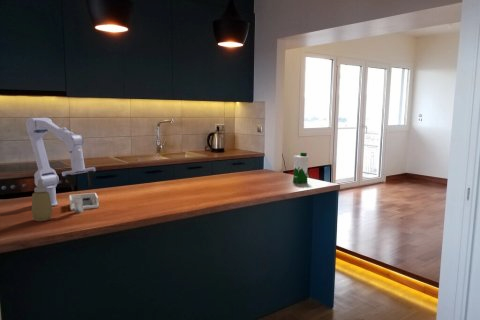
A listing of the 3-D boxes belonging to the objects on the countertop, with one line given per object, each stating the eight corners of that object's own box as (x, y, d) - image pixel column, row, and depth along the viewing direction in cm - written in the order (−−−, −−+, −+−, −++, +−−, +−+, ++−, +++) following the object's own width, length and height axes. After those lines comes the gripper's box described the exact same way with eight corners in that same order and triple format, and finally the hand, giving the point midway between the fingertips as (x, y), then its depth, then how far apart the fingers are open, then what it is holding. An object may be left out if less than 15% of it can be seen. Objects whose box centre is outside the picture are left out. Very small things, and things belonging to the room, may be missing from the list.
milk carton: (309, 183, 245) (310, 153, 242) (298, 184, 241) (298, 154, 238) (301, 180, 252) (302, 152, 250) (290, 181, 249) (291, 152, 246)
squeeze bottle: (56, 217, 165) (53, 177, 162) (47, 222, 157) (44, 181, 154) (38, 217, 164) (35, 177, 162) (28, 222, 156) (25, 181, 154)
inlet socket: (76, 207, 178) (76, 202, 178) (76, 203, 185) (75, 198, 184) (92, 205, 181) (91, 200, 181) (90, 202, 188) (90, 197, 187)
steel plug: (74, 213, 170) (74, 199, 169) (74, 211, 173) (73, 197, 172) (83, 212, 172) (82, 198, 171) (82, 210, 175) (82, 196, 174)
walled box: (70, 210, 175) (70, 200, 174) (69, 204, 186) (69, 195, 185) (98, 207, 180) (98, 197, 180) (96, 201, 191) (95, 192, 191)
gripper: (61, 162, 165) (66, 192, 166) (95, 157, 173) (99, 186, 174) (59, 162, 171) (64, 191, 172) (91, 158, 179) (96, 185, 180)
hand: (81, 188), depth 173 cm, fingers open, 7 cm apart
